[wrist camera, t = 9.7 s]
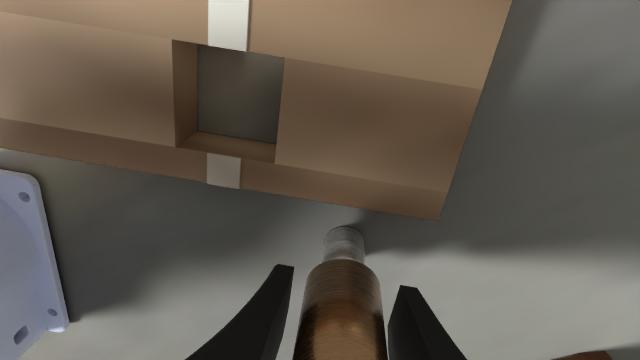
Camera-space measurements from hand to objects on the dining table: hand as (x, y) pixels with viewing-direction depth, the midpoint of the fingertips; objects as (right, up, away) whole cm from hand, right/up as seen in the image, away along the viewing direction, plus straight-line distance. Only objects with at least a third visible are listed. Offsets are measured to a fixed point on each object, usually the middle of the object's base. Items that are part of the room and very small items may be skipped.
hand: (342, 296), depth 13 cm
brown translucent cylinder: (0, +1, +3) cm, 3 cm away
